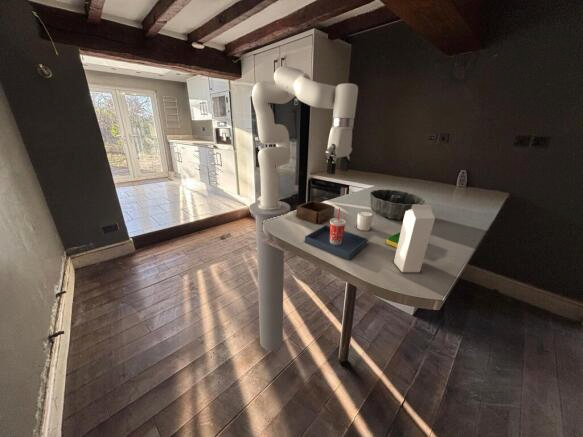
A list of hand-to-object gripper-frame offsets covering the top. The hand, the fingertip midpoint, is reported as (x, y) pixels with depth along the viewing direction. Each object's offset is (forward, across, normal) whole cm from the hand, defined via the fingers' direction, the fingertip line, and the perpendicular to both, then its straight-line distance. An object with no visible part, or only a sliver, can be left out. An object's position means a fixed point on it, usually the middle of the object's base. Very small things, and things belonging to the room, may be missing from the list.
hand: (337, 172), depth 89 cm
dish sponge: (+26, -14, +26) cm, 39 cm away
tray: (+26, +6, +6) cm, 28 cm away
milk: (+26, +4, +32) cm, 42 cm away
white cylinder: (+26, -16, +8) cm, 32 cm away
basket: (+27, -11, -16) cm, 33 cm away
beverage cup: (+26, +6, +6) cm, 27 cm away
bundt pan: (+26, -44, +11) cm, 52 cm away
